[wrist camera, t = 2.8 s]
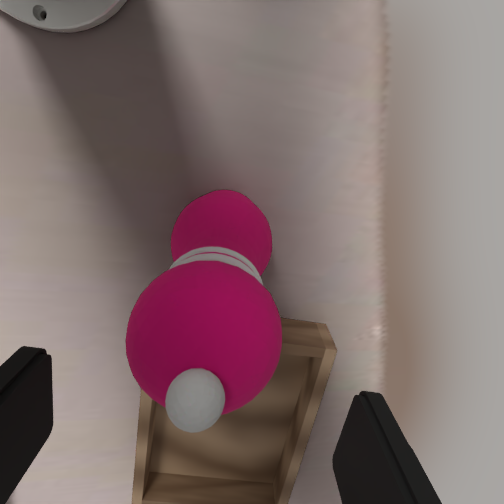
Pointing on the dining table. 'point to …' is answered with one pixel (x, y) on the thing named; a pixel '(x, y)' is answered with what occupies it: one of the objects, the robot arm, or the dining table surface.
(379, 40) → the dining table surface
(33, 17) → the robot arm
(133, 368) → the pepper mill
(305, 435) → the serving tray
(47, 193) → the dining table surface
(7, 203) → the dining table surface
